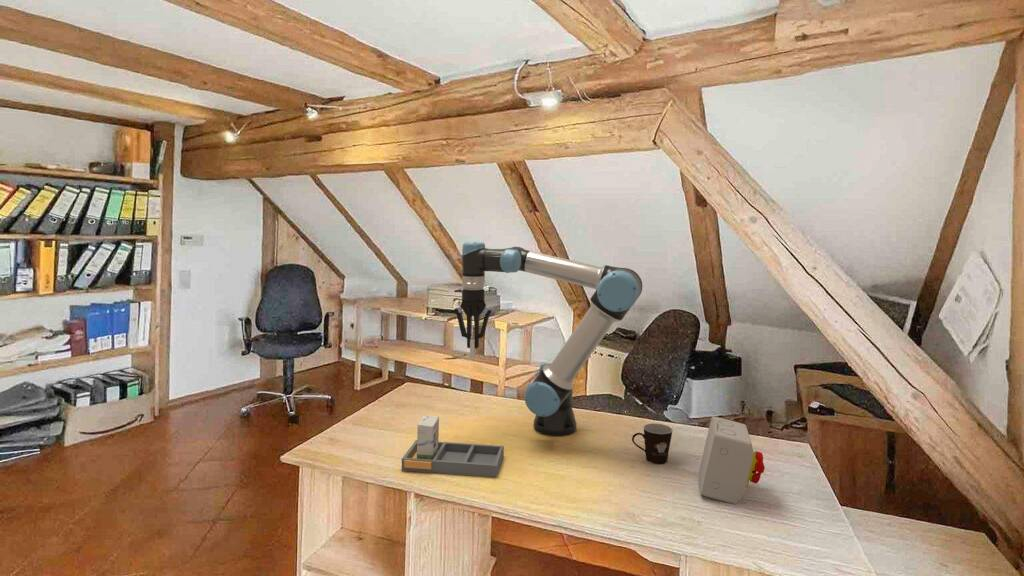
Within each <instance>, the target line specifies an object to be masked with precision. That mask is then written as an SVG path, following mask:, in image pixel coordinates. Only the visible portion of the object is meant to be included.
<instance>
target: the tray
mask: <svg viewBox="0 0 1024 576" xmlns="http://www.w3.org/2000/svg"><path fill="white" fill-rule="evenodd" d="M504 449H505V446H504V445H495V444H479V443H465V442H464V443H463V442H452V441H451V442H450V441H449V442H448V441H439V443H438V452H437V453H436V455H435V457H434V458H433V460H431V459H417V439H416V440H415V441H414V442H413V444H412V445H411V446H410V447H409V449H407V451H406V453H405V454H404V455H403V457H402V458H401V471H404V470H405V472H407V471H409V472H417V471H418V472H419V473H422V472H423V473H430V472H436V473H435V474H444V473H447V475H458V476H460V475H461V476H470V475H472V476H473V477H483V476H485V478H497V477H498V475H499V471H500V468H501V465H502V463H503V459H504V455H505V452H504ZM472 476H471V477H472ZM486 476H487V477H486Z"/></svg>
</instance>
